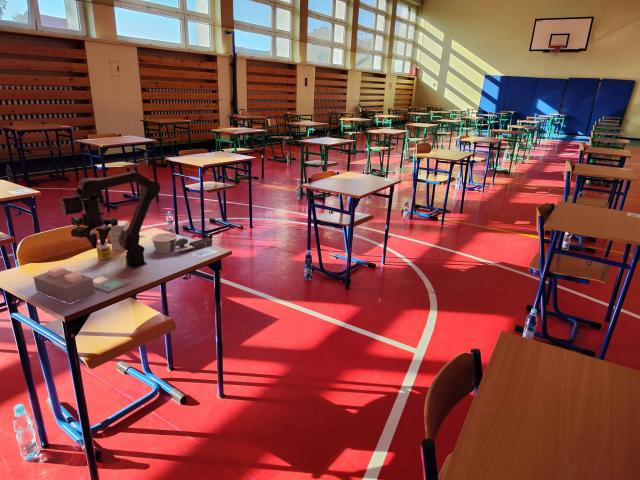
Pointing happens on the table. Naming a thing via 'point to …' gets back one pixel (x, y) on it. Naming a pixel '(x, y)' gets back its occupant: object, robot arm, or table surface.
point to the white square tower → (117, 234)
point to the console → (64, 287)
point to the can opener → (192, 244)
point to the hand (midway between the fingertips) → (98, 246)
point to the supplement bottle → (103, 252)
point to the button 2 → (73, 277)
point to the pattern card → (108, 283)
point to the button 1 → (56, 271)
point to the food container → (164, 242)
